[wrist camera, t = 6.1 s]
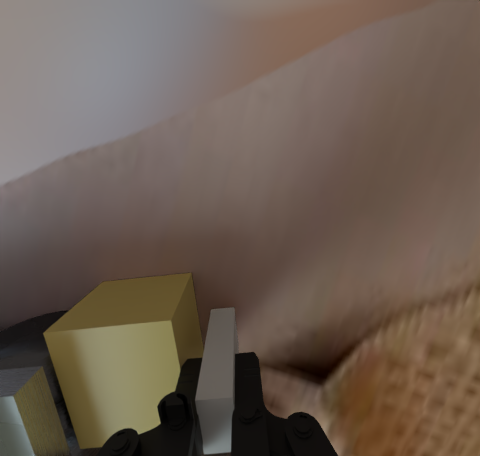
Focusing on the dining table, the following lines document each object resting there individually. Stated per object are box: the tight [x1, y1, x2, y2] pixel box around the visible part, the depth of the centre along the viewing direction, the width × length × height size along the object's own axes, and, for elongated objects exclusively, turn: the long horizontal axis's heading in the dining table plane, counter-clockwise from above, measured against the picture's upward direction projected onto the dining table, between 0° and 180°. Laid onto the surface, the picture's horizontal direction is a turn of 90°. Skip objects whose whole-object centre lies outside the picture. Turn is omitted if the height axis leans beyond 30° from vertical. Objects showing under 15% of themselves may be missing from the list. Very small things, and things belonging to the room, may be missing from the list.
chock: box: [43, 273, 204, 449], centre depth 16 cm, size 6×7×6 cm
